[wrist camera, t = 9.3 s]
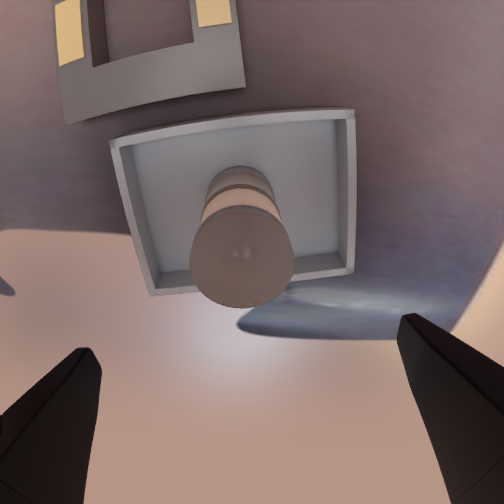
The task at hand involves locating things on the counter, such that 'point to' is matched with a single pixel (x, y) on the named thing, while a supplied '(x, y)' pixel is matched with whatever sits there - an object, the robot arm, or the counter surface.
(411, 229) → the counter surface
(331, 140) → the parts tray
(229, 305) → the cylinder
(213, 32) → the fuse block
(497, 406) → the robot arm
